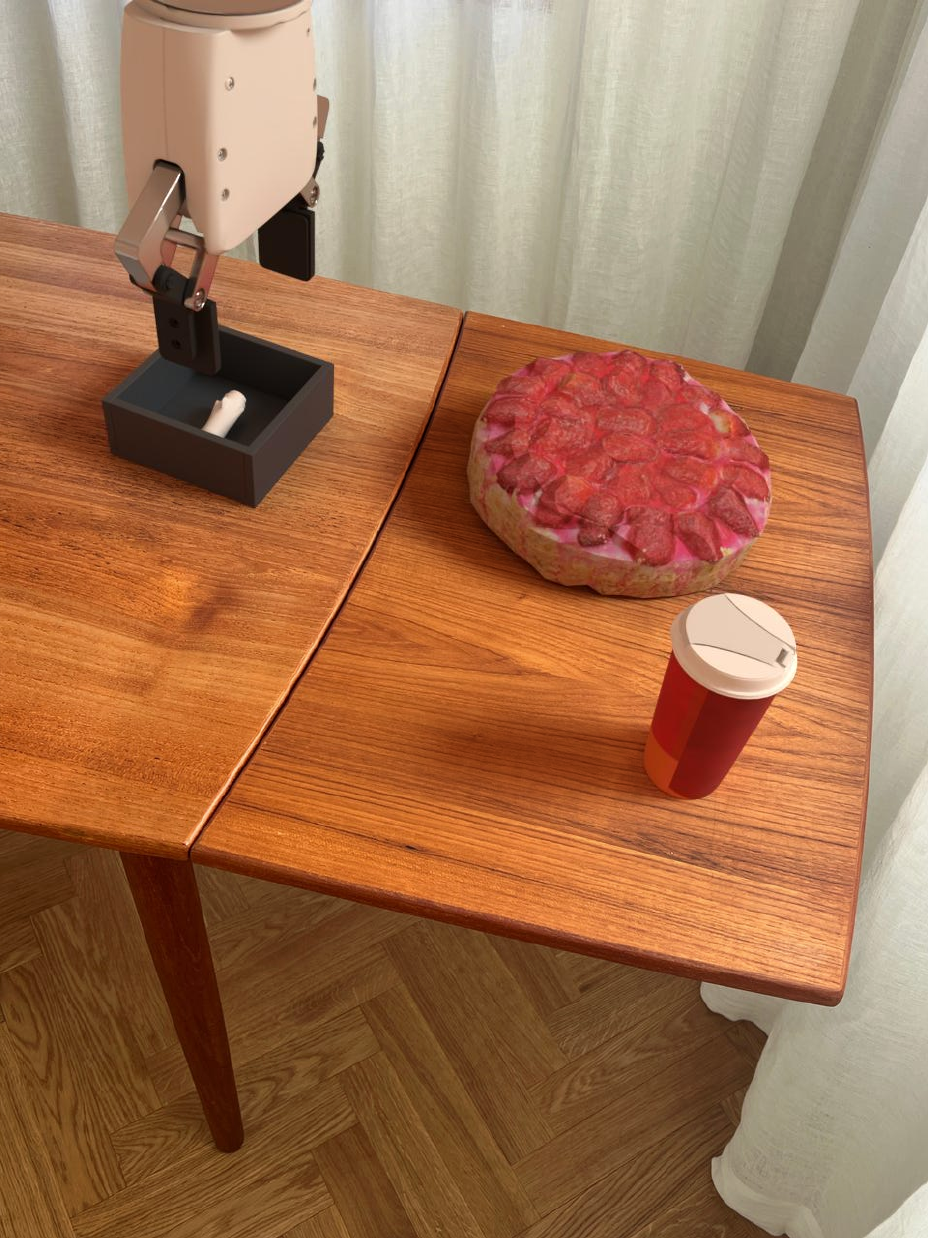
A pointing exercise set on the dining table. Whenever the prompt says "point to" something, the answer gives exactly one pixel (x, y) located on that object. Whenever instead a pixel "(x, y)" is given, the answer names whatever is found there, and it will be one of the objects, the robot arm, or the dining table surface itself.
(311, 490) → the dining table surface
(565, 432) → the cake
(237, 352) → the bin
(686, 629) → the paper cup
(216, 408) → the small white plastic part
